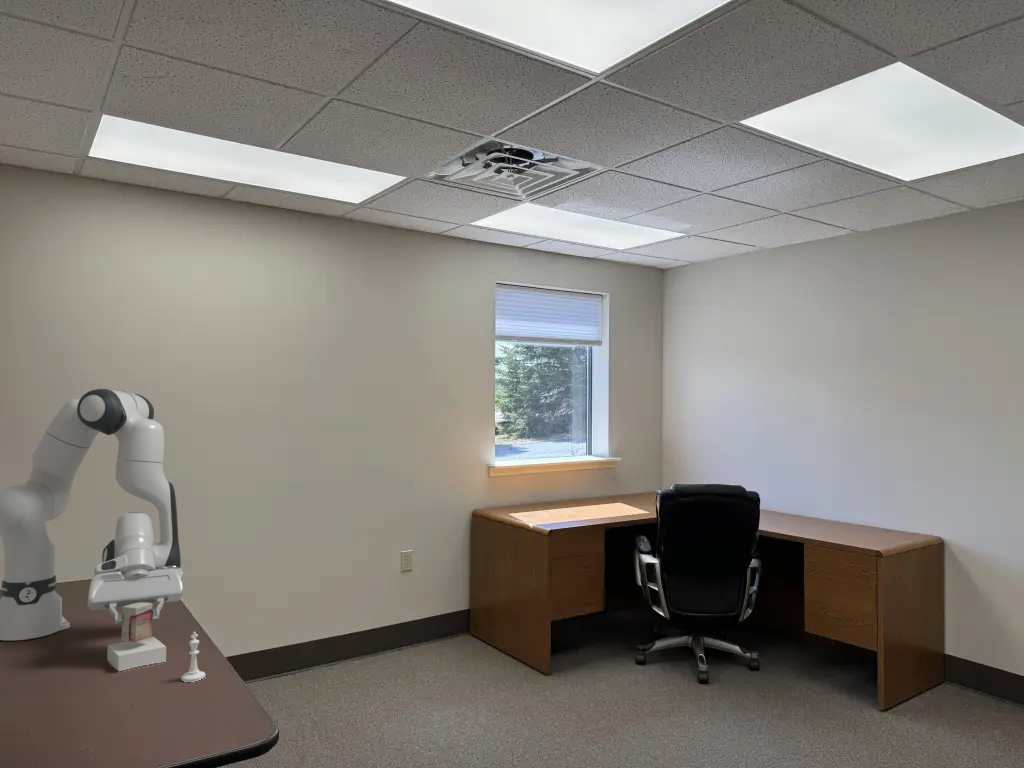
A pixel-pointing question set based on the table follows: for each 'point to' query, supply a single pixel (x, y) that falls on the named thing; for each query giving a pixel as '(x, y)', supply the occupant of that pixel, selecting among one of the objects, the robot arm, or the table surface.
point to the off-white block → (136, 653)
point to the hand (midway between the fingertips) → (137, 619)
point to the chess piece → (193, 663)
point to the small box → (137, 621)
